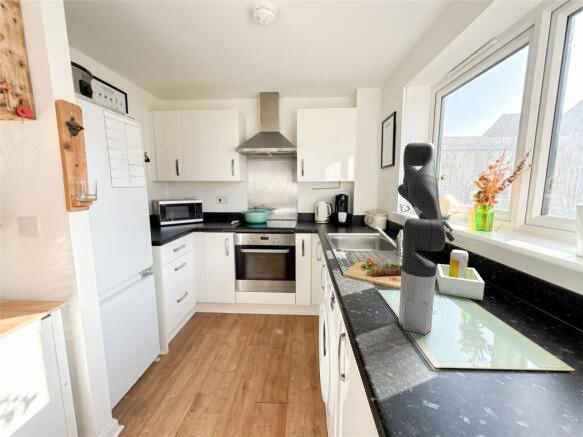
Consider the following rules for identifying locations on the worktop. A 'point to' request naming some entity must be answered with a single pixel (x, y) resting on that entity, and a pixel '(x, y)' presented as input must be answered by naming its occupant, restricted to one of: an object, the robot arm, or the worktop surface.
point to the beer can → (458, 264)
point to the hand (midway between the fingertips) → (445, 241)
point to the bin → (460, 283)
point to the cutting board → (376, 273)
